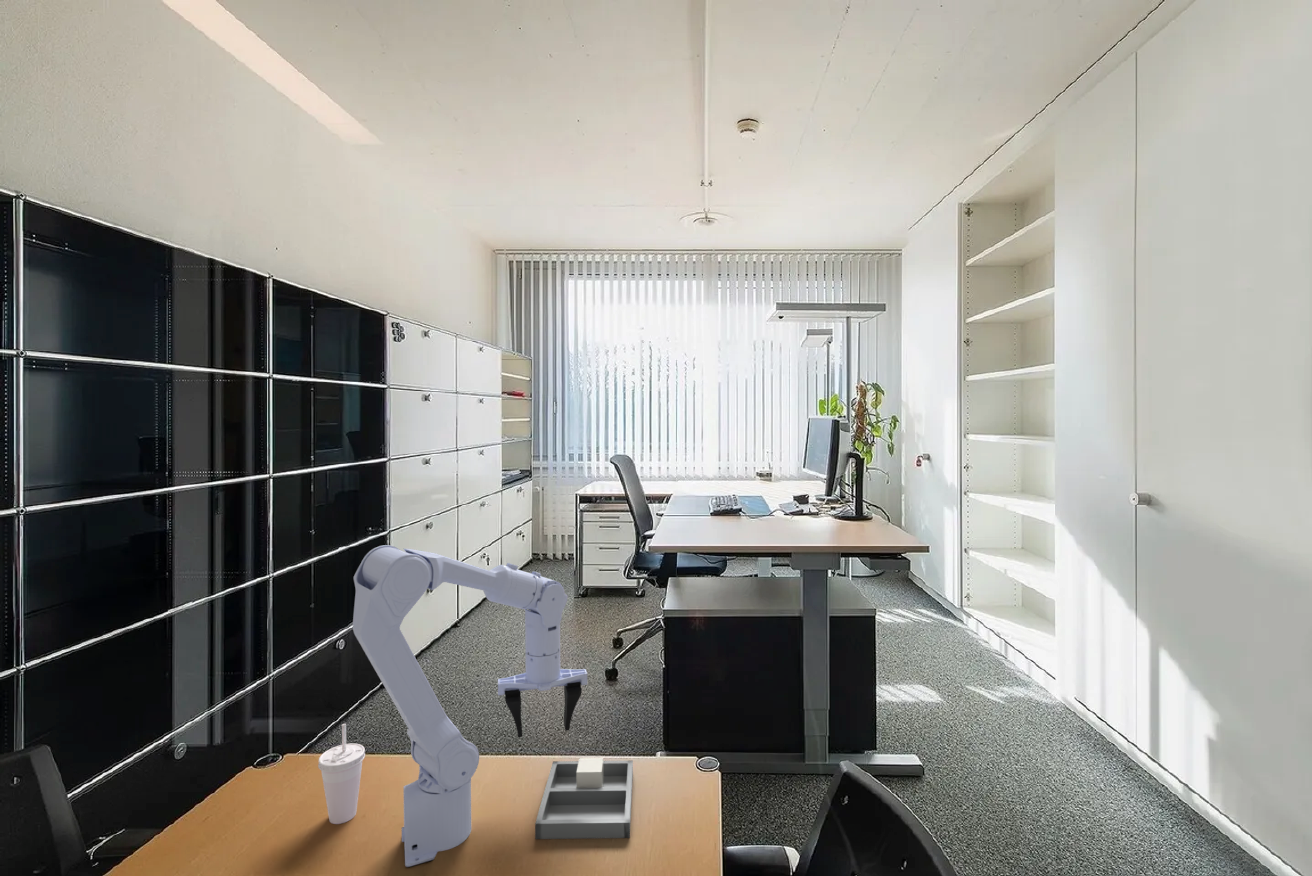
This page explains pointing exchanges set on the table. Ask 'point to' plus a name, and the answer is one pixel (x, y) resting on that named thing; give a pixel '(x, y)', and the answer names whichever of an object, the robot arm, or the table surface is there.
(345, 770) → the smoothie
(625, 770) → the divided tray
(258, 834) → the table surface
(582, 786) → the white block
